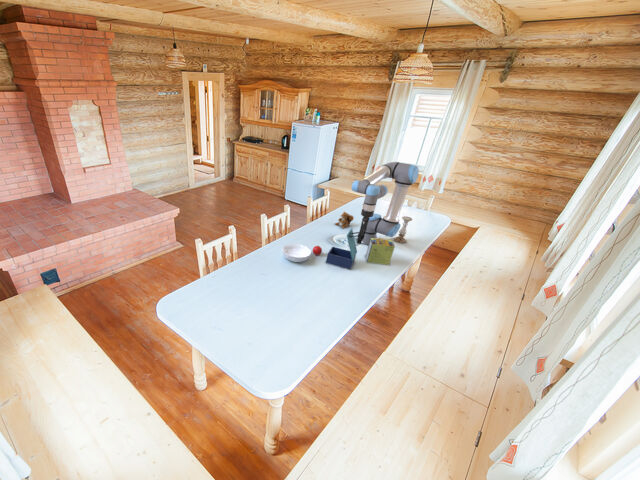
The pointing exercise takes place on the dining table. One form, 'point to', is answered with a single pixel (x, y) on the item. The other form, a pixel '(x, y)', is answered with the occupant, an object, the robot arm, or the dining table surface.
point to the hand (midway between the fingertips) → (360, 241)
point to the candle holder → (403, 230)
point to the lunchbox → (340, 258)
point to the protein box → (380, 251)
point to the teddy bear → (345, 220)
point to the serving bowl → (296, 252)
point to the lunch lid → (352, 243)
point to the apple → (317, 250)
